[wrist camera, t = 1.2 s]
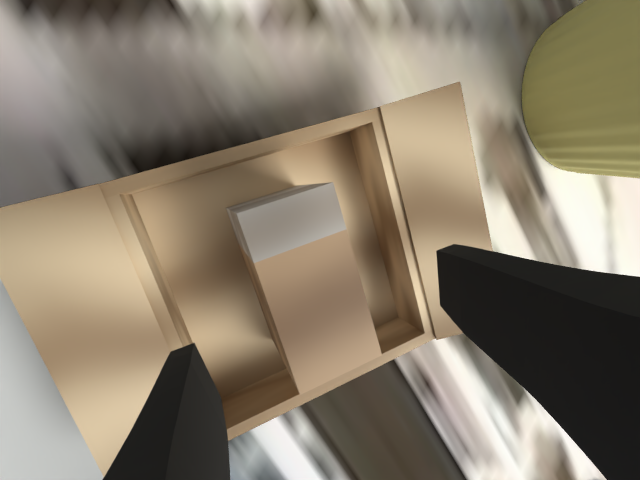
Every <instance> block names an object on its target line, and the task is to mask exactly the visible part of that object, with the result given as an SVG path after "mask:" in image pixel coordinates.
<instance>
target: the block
mask: <svg viewBox="0 0 640 480" xmlns="http://www.w3.org/2000/svg"><path fill="white" fill-rule="evenodd" d="M226 210H227V213H228V216H229V219H230V222H231V224H232V227H233V230H234V233H235V236H236V238H237V241H238V244H239V247H240V250H241V253H242V255H243V258H244V261H245V264H246V267H247V269H248V272H249V275H250V278H251V281H252V283H253V286H254V289H255V292H256V295H257V297H258V300H259V303H260V306H261V309H262V312H263V314H264V317H265V320H266V323H267V326H268V328H269V331H270V334H271V337H272V340H273V342H274V344H275V346H276V348H277V350H278V352H279V354H280V356H281V358H282V360H283V362H284V364H285V366H286V368H287V370H288V372H289V374H290V376H291V378H292V380H293V382H294V384H295V386H296V388H297V390H298V392H299V394H300V395H301V394H303V393H305V392H308V391H310V390H312V389H314V388H316V387H318V386H320V385H322V384H324V383H326V382H328V381H330V380H332V379H334V378H336V377H338V376H340V375H342V374H345V373H347V372H349V371H351V370H353V369H355V368H357V367H359V366H361V365H363V364H365V363H367V362H369V361H371V360H373V359H375V358H377V357H379V356H382V353H381V349H380V346H379V342H378V339H377V335H376V332H375V328H374V324H373V321H372V317H371V314H370V310H369V307H368V303H367V300H366V296H365V293H364V289H363V286H362V282H361V279H360V275H359V272H358V268H357V265H356V261H355V258H354V254H353V251H352V247H351V243H350V240H349V236H348V233H347V229H346V226H345V222H344V219H343V215H342V212H341V208H340V205H339V201H338V198H337V194H336V191H335V187H334V184H333V182H330V183H319V184H308V185H297V186H293V187H290V188H286V189H283V190H280V191H277V192H274V193H271V194H268V195H265V196H261V197H258V198H255V199H252V200H249V201H246V202H243V203H239V204H236V205H233V206H230V207H227V208H226Z"/></svg>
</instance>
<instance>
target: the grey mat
mask: <svg viewBox="0 0 640 480" xmlns="http://www.w3.org/2000/svg"><path fill="white" fill-rule="evenodd" d="M103 478H104V477H103V475H102V473H101V471H100V469H99V467H98V465H97V463H96V461H95V459H94V457H93V455H92V454H91V452H90V450H89V448H88V446H87V444H86V442H85V440H84V438H83V436H82V434H81V432H80V430H79V429H78V427H77V425H76V423H75V421H74V419H73V417H72V415H71V413H70V411H69V409H68V407H67V405H66V404H65V402H64V400H63V398H62V396H61V394H60V392H59V390H58V388H57V386H56V384H55V382H54V380H53V379H52V377H51V375H50V373H49V371H48V369H47V367H46V365H45V363H44V361H43V359H42V357H41V356H40V354H39V352H38V350H37V348H36V346H35V344H34V342H33V340H32V338H31V336H30V334H29V332H28V331H27V329H26V327H25V325H24V323H23V321H22V319H21V317H20V315H19V313H18V311H17V309H16V307H15V306H14V304H13V302H12V300H11V298H10V296H9V294H8V292H7V290H6V288H5V286H4V284H3V282H2V281H1V279H0V480H103Z"/></svg>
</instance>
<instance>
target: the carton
mask: <svg viewBox="0 0 640 480" xmlns="http://www.w3.org/2000/svg"><path fill="white" fill-rule="evenodd" d="M330 182H333V184H334V187H335V191H336V194H337V198H338V201H339V205H340V208H341V212H342V215H343V219H344V222H345V226H346V229H347V233H348V236H349V240H350V243H351V247H352V251H353V254H354V258H355V261H356V265H357V268H358V272H359V275H360V279H361V282H362V286H363V289H364V293H365V296H366V300H367V303H368V307H369V310H370V314H371V317H372V321H373V324H374V328H375V332H376V335H377V339H378V342H379V346H380V349H381V353H382V356H379V357H377V358H375V359H373V360H371V361H369V362H367V363H365V364H363V365H361V366H359V367H357V368H355V369H353V370H351V371H349V372H347V373H345V374H342V375H340V376H338V377H336V378H334V379H332V380H330V381H328V382H326V383H324V384H322V385H320V386H318V387H316V388H314V389H312V390H310V391H308V392H305V393H303V394H301V395H300V394H299V392H298V390H297V388H296V386H295V384H294V382H293V380H292V378H291V376H290V374H289V372H288V370H287V368H286V366H285V364H284V362H283V360H282V358H281V356H280V354H279V352H278V350H277V348H276V346H275V344H274V342H273V340H272V337H271V334H270V331H269V328H268V326H267V323H266V320H265V317H264V314H263V312H262V309H261V306H260V303H259V300H258V297H257V295H256V292H255V289H254V286H253V283H252V281H251V278H250V275H249V272H248V269H247V267H246V264H245V261H244V258H243V255H242V253H241V250H240V247H239V244H238V241H237V238H236V236H235V233H234V230H233V227H232V224H231V222H230V219H229V216H228V213H227V210H226V208H227V207H230V206H233V205H236V204H239V203H243V202H246V201H249V200H252V199H255V198H258V197H261V196H265V195H268V194H271V193H274V192H277V191H280V190H283V189H286V188H290V187H293V186H297V185H308V184H319V183H330ZM452 244H458V245H464V246H470V247H475V248H480V249H484V250H489V251H493V250H492V245H491V239H490V234H489V229H488V224H487V219H486V214H485V208H484V203H483V198H482V193H481V188H480V183H479V177H478V172H477V167H476V162H475V157H474V152H473V146H472V141H471V136H470V131H469V126H468V121H467V115H466V110H465V105H464V100H463V95H462V90H461V84H460V82H457V83H454V84H451V85H447V86H444V87H441V88H438V89H435V90H431V91H428V92H425V93H422V94H418V95H415V96H412V97H409V98H406V99H402V100H399V101H396V102H393V103H389V104H386V105H383V106H380V107H377V108H374V109H370V110H367V111H363V112H359V113H356V114H352V115H348V116H345V117H341V118H337V119H334V120H330V121H326V122H323V123H319V124H316V125H312V126H308V127H305V128H301V129H297V130H294V131H290V132H286V133H283V134H279V135H275V136H272V137H268V138H265V139H261V140H257V141H254V142H250V143H246V144H243V145H239V146H235V147H232V148H228V149H225V150H221V151H217V152H214V153H210V154H206V155H203V156H199V157H195V158H192V159H188V160H184V161H181V162H177V163H174V164H170V165H166V166H163V167H159V168H155V169H152V170H148V171H144V172H141V173H137V174H134V175H130V176H126V177H123V178H119V179H115V180H112V181H108V182H104V183H101V184H95V185H91V186H87V187H83V188H79V189H74V190H70V191H66V192H62V193H58V194H54V195H50V196H46V197H41V198H37V199H33V200H29V201H25V202H21V203H17V204H13V205H9V206H4V207H0V279H1V281H2V282H3V284H4V286H5V288H6V290H7V292H8V294H9V296H10V298H11V300H12V302H13V304H14V306H15V307H16V309H17V311H18V313H19V315H20V317H21V319H22V321H23V323H24V325H25V327H26V329H27V331H28V332H29V334H30V336H31V338H32V340H33V342H34V344H35V346H36V348H37V350H38V352H39V354H40V356H41V357H42V359H43V361H44V363H45V365H46V367H47V369H48V371H49V373H50V375H51V377H52V379H53V380H54V382H55V384H56V386H57V388H58V390H59V392H60V394H61V396H62V398H63V400H64V402H65V404H66V405H67V407H68V409H69V411H70V413H71V415H72V417H73V419H74V421H75V423H76V425H77V427H78V429H79V430H80V432H81V434H82V436H83V438H84V440H85V442H86V444H87V446H88V448H89V450H90V452H91V454H92V455H93V457H94V459H95V461H96V463H97V465H98V467H99V469H100V471H101V473H102V475H103V477H104V476H105V475H106V473H107V471H108V470H109V468H110V466H111V464H112V463H113V461H114V459H115V457H116V456H117V454H118V452H119V450H120V449H121V447H122V445H123V444H124V442H125V440H126V438H127V437H128V435H129V433H130V431H131V429H132V427H133V425H134V423H135V422H136V420H137V418H138V416H139V414H140V412H141V410H142V408H143V406H144V404H145V402H146V400H147V398H148V396H149V394H150V392H151V390H152V388H153V386H154V384H155V382H156V380H157V378H158V376H159V374H160V371H161V369H162V367H163V365H164V363H165V361H166V359H167V357H168V355H169V354H170V352H171V351H174V350H176V349H179V348H181V347H184V346H187V345H189V344H192V343H195V345H196V347H197V349H198V351H199V353H200V355H201V357H202V359H203V361H204V363H205V365H206V367H207V369H208V372H209V374H210V376H211V378H212V380H213V382H214V384H215V386H216V388H217V390H218V392H219V394H220V396H221V401H222V406H223V411H224V417H225V423H226V428H227V435H228V441H229V440H231V439H233V438H235V437H237V436H239V435H241V434H243V433H245V432H247V431H249V430H251V429H253V428H255V427H257V426H259V425H261V424H263V423H265V422H267V421H269V420H271V419H273V418H275V417H277V416H280V415H282V414H284V413H286V412H288V411H290V410H292V409H294V408H296V407H298V406H300V405H302V404H304V403H306V402H308V401H310V400H312V399H314V398H316V397H318V396H320V395H322V394H324V393H326V392H328V391H330V390H332V389H334V388H336V387H338V386H340V385H342V384H344V383H346V382H348V381H350V380H352V379H354V378H356V377H358V376H360V375H362V374H364V373H366V372H368V371H370V370H373V369H375V368H377V367H379V366H381V365H383V364H385V363H387V362H389V361H391V360H393V359H395V358H397V357H399V356H401V355H403V354H405V353H407V352H409V351H411V350H413V349H415V348H417V347H419V346H421V345H423V344H425V343H427V342H429V341H431V340H433V339H435V338H436V339H437V340H438V339H442V338H446V337H450V336H454V335H458V334H462V333H463V332H462V331H461V330H460V329H459V327H458V326H457V325H456V324H455V323H454V322H453V321H452V319H451V318H450V317H449V316H448V315H447V313H446V312H445V311H444V310H443V308H442V307H441V306H440V298H439V284H438V269H437V255H436V251H437V250H439V249H442V248H444V247H447V246H450V245H452Z"/></svg>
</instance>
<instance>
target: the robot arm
mask: <svg viewBox="0 0 640 480" xmlns="http://www.w3.org/2000/svg"><path fill="white" fill-rule="evenodd" d="M436 255H437V269H438V284H439V298H440V306H441V307H442V308H443V310H444V311H445V312H446V313H447V315H448V316H449V317H450V318H451V319H452V321H453V322H454V323H455V324H456V325H457V326H458V327H459V329H460V330H461V331H462V332H463V333H464V334H465V335H466V336H467V337H468V338H470V339H471V340H472V341H473V342H474V343H475V344H476V345H477V346H478V347H479V348H480V349H482V350H483V351H484V352H485V353H486V354H487V355H488V356H489V357H490V358H492V359H493V360H494V361H495V362H496V363H497V364H498V365H499V366H500V367H502V368H503V369H504V370H505V371H506V372H507V373H508V374H509V375H510V376H512V377H513V378H514V379H515V380H516V381H517V382H518V383H519V384H520V385H521V386H523V387H524V388H525V389H526V390H527V391H528V392H529V393H530V394H531V395H532V396H533V397H534V398H535V399H536V400H537V401H538V402H539V403H540V404H541V405H542V407H543V408H544V409H545V410H546V411H547V412H548V413H549V414H550V415H551V416H552V417H553V418H554V420H555V421H556V422H557V423H558V424H559V425H560V426H561V427H562V428H563V429H564V430H565V432H566V433H567V434H568V435H569V436H570V437H571V438H572V440H573V441H574V442H575V443H576V444H577V445H578V446H579V448H580V449H581V450H582V451H583V452H584V453H585V454H586V456H587V457H588V458H589V459H590V460H591V461H592V462H593V464H594V465H595V466H596V467H597V468H598V469H599V471H600V472H601V473H602V474H603V475H604V477H605V478H606V479H607V480H640V277H636V276H628V275H619V274H611V273H603V272H596V271H589V270H582V269H577V268H571V267H565V266H560V265H554V264H549V263H544V262H539V261H534V260H529V259H525V258H520V257H516V256H511V255H507V254H502V253H498V252H493V251H489V250H484V249H480V248H475V247H470V246H464V245H458V244H452V245H450V246H447V247H444V248H442V249H439V250H437V251H436ZM103 480H230V467H229V451H228V435H227V428H226V423H225V417H224V411H223V406H222V401H221V396H220V394H219V392H218V390H217V388H216V386H215V384H214V382H213V380H212V378H211V376H210V374H209V372H208V369H207V367H206V365H205V363H204V361H203V359H202V357H201V355H200V353H199V351H198V349H197V347H196V345H195V343H192V344H189V345H187V346H184V347H181V348H179V349H176V350H174V351H171V352H170V354H169V355H168V357H167V359H166V361H165V363H164V365H163V367H162V369H161V371H160V374H159V376H158V378H157V380H156V382H155V384H154V386H153V388H152V390H151V392H150V394H149V396H148V398H147V400H146V402H145V404H144V406H143V408H142V410H141V412H140V414H139V416H138V418H137V420H136V422H135V423H134V425H133V427H132V429H131V431H130V433H129V435H128V437H127V438H126V440H125V442H124V444H123V445H122V447H121V449H120V450H119V452H118V454H117V456H116V457H115V459H114V461H113V463H112V464H111V466H110V468H109V470H108V471H107V473H106V475H105V476H104V478H103Z"/></svg>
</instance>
